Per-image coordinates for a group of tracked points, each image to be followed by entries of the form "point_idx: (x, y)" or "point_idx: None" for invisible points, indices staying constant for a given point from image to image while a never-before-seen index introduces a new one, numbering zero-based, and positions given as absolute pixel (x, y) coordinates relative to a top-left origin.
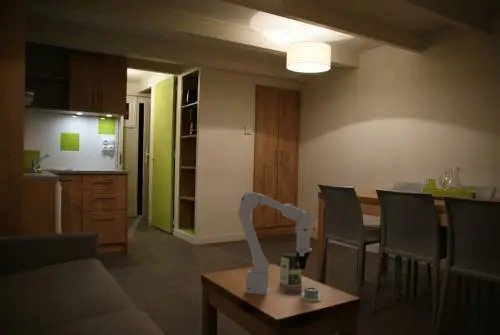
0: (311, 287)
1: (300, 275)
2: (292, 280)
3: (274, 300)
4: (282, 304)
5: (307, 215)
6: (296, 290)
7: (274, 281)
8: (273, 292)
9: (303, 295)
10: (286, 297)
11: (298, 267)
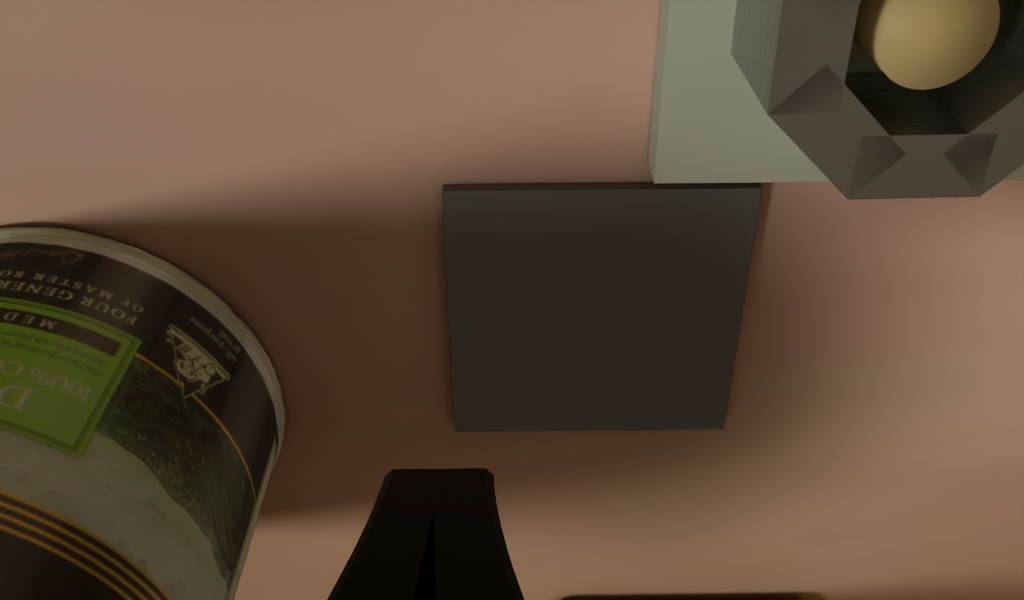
0: (842, 44)
1: (22, 364)
2: (237, 433)
3: (1013, 498)
4: None
5: None
6: (497, 278)
7: None
8: (660, 547)
9: None
10: (865, 378)
11: (28, 567)
